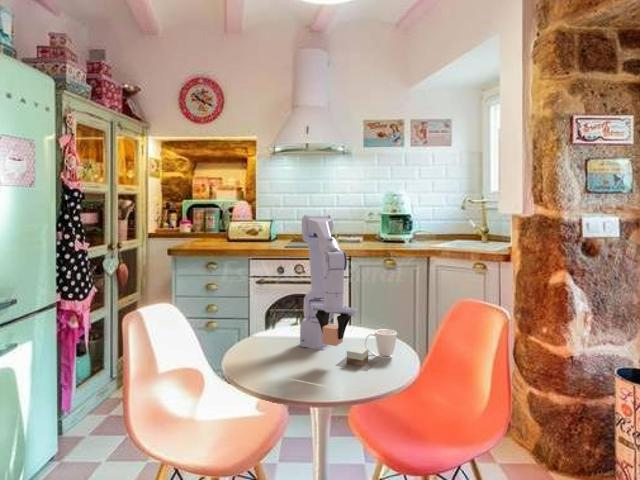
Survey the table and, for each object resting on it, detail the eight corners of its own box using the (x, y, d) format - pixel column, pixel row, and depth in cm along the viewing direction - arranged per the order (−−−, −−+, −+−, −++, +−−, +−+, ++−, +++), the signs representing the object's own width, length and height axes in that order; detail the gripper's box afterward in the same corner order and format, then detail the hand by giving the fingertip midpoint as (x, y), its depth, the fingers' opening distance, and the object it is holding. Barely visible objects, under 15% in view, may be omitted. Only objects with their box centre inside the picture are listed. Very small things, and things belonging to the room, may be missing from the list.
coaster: (335, 366, 141) (335, 365, 141) (348, 356, 150) (348, 355, 150) (367, 372, 136) (367, 371, 136) (378, 361, 145) (378, 360, 145)
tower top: (346, 357, 142) (346, 351, 141) (353, 352, 146) (353, 346, 146) (362, 360, 139) (362, 353, 139) (368, 355, 144) (368, 348, 144)
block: (322, 343, 140) (322, 327, 140) (329, 339, 144) (329, 323, 144) (336, 346, 138) (336, 329, 138) (342, 342, 142) (342, 325, 142)
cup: (395, 361, 146) (396, 335, 145) (363, 358, 148) (363, 333, 147) (397, 354, 152) (398, 329, 152) (366, 351, 155) (367, 327, 154)
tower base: (346, 364, 142) (346, 357, 142) (352, 359, 146) (353, 352, 146) (362, 366, 140) (362, 360, 139) (368, 361, 144) (368, 355, 144)
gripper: (305, 291, 140) (305, 336, 141) (351, 297, 133) (350, 344, 134) (316, 287, 146) (316, 331, 147) (360, 292, 139) (359, 338, 141)
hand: (332, 337), depth 141 cm, fingers closed on block, 4 cm apart
